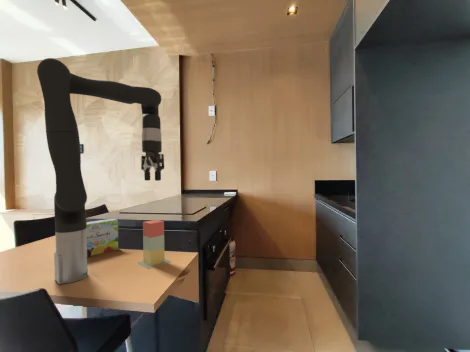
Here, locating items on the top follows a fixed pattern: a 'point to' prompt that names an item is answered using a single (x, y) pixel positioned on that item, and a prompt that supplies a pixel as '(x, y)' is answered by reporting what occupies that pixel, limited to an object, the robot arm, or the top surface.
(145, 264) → the baseplate
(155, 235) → the brick red
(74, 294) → the top surface
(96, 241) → the snack box
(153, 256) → the brick mustard
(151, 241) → the brick sage
